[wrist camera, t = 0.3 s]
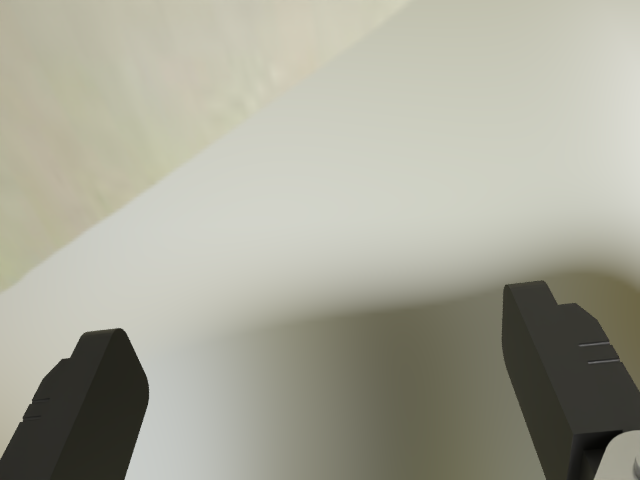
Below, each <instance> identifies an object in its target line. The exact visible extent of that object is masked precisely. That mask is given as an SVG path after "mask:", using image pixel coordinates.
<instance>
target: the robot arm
mask: <svg viewBox="0 0 640 480" xmlns="http://www.w3.org/2000/svg"><path fill="white" fill-rule="evenodd" d="M502 349H503V356H504V361H505V365H506V368H507V371H508V374H509V377H510V379H511V383H512V385H513V388H514V391H515V394H516V396H517V399H518V402H519V405H520V407H521V410H522V413H523V416H524V419H525V422H526V424H527V427H528V430H529V432H530V435H531V438H532V441H533V444H534V447H535V449H536V452H537V455H538V458H539V460H540V463H541V466H542V469H543V472H544V475H545V477H546V480H640V392H639V390H638V389H637V387H636V385H635V384H634V382H633V380H632V378H631V376H630V375H629V373H628V372H627V370H626V368H625V366H624V365H623V363H622V362H620V360H619V356H618V355H617V353H616V351H615V349H614V348H613V346H612V345H610V343H609V339H608V337H607V336H606V334H605V332H604V331H603V329H602V327H601V326H600V324H599V322H598V321H597V319H595V318H594V317H593V316H592V315H590V314H589V313H588V312H586V311H585V310H584V309H583V308H581V307H580V306H579V305H577V304H576V303H572V304H562V305H557V302H556V300H555V299H554V297H553V295H552V293H551V291H550V289H549V287H548V285H547V284H546V282H544V281H534V282H525V283H517V284H508V285H505V287H504V292H503V319H502ZM148 400H149V385H148V380H147V377H146V374H145V372H144V370H143V368H142V366H141V364H140V361H139V359H138V357H137V355H136V353H135V351H134V349H133V346H132V344H131V342H130V340H129V338H128V336H127V334H126V332H125V331H124V330H123V329H121V328H117V329H108V330H100V331H91V332H86V333H84V334H83V335H82V336H81V337H80V339H79V342H78V343H77V345H76V347H75V349H74V351H73V353H72V355H71V357H70V358H68V359H62V360H61V361H60V362H59V363H58V364H57V365H56V366H55V367H54V368H53V369H52V370H51V371H50V372H49V373H48V374H47V375H46V376H45V377H44V378H43V380H42V382H41V384H40V386H39V387H38V390H37V391H36V393H35V395H34V397H33V399H32V404H30V405H29V406H28V408H27V410H26V412H25V414H24V416H23V422H20V423H19V425H18V427H17V429H16V431H15V433H14V435H13V437H12V439H11V440H10V443H9V444H8V446H7V448H6V450H5V452H4V454H3V456H2V458H1V460H0V480H124V479H125V476H126V472H127V469H128V466H129V463H130V460H131V457H132V453H133V450H134V447H135V444H136V440H137V438H138V434H139V431H140V428H141V425H142V422H143V418H144V415H145V412H146V409H147V405H148Z"/></svg>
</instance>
